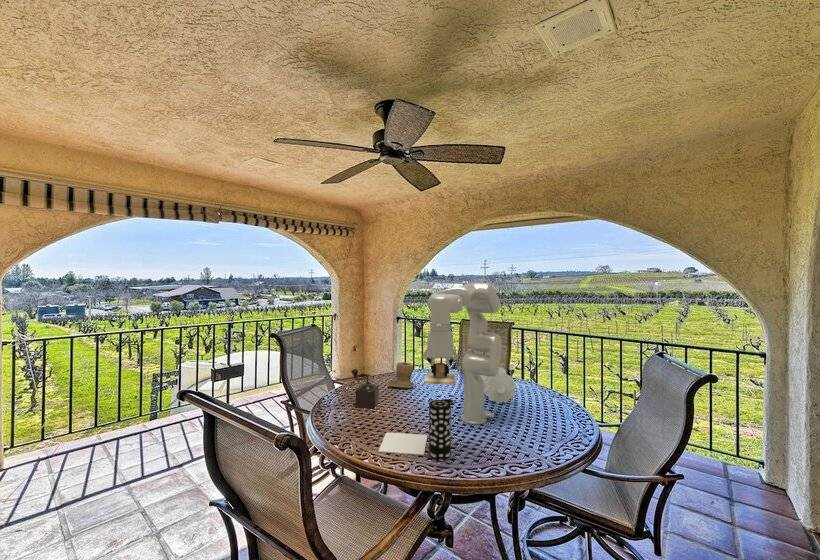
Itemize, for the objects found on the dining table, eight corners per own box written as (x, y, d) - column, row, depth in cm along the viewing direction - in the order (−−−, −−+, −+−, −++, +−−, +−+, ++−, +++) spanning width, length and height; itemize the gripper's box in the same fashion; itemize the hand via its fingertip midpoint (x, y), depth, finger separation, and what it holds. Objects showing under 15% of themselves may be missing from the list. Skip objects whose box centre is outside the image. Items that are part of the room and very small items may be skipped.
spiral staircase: (497, 397, 204) (509, 411, 179) (471, 384, 205) (479, 397, 180) (510, 369, 205) (524, 380, 180) (484, 357, 205) (494, 366, 180)
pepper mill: (379, 401, 186) (379, 369, 186) (374, 409, 175) (374, 374, 175) (352, 399, 188) (352, 367, 188) (345, 407, 178) (345, 373, 177)
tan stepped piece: (415, 384, 215) (415, 361, 215) (411, 390, 204) (411, 366, 204) (392, 382, 219) (393, 359, 219) (387, 388, 208) (387, 364, 207)
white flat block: (427, 435, 146) (427, 434, 146) (423, 455, 130) (423, 454, 130) (386, 433, 149) (386, 432, 149) (378, 452, 133) (378, 451, 133)
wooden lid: (454, 375, 135) (454, 360, 135) (454, 384, 124) (454, 368, 124) (427, 374, 137) (427, 359, 137) (424, 383, 126) (424, 367, 126)
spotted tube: (448, 449, 135) (449, 399, 135) (452, 460, 127) (452, 407, 126) (428, 449, 135) (428, 399, 134) (429, 461, 126) (430, 407, 126)
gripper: (462, 326, 133) (462, 373, 133) (419, 326, 135) (419, 371, 135) (462, 330, 125) (462, 379, 126) (417, 329, 127) (417, 377, 128)
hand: (440, 374), depth 131 cm, fingers closed on wooden lid, 4 cm apart
